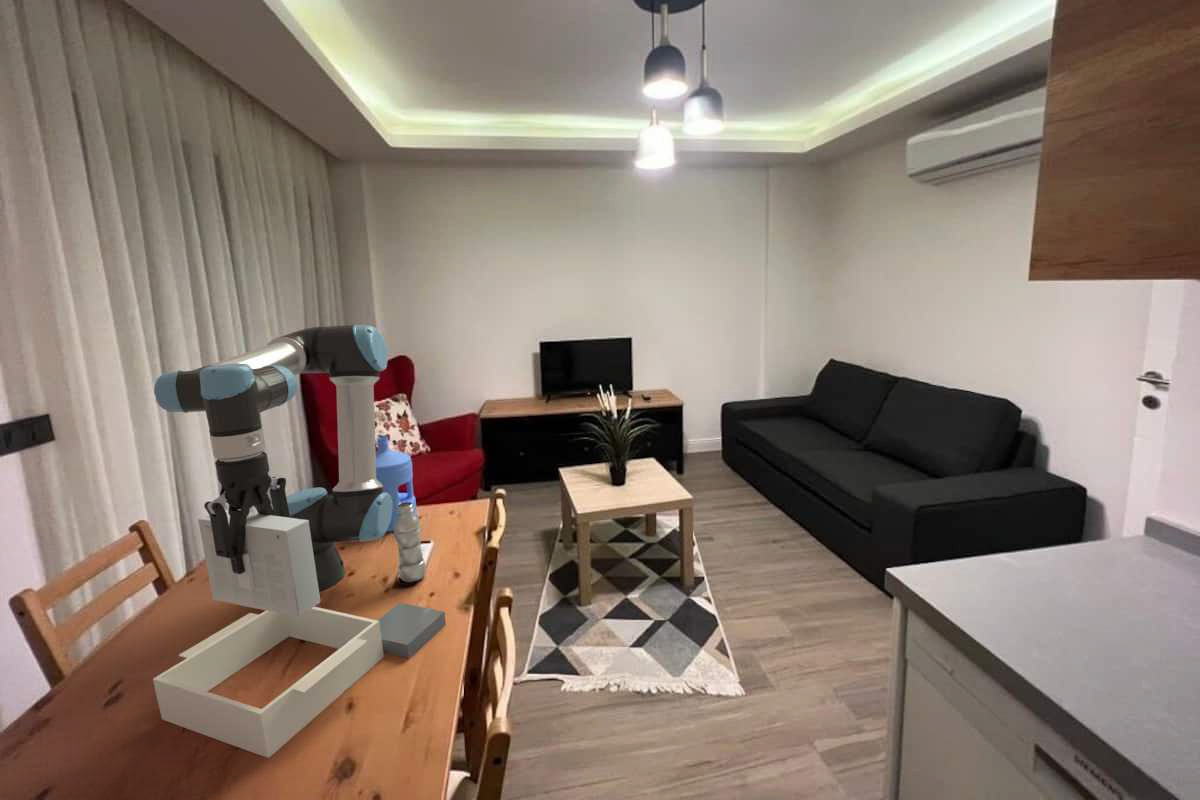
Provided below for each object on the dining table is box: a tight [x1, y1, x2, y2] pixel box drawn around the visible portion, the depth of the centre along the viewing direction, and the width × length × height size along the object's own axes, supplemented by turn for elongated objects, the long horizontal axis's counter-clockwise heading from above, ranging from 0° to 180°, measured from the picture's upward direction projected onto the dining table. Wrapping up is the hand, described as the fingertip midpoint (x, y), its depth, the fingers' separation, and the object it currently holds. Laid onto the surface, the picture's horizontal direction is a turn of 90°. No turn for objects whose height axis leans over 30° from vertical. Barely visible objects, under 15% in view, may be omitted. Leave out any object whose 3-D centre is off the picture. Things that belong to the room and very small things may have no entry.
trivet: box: [377, 602, 446, 659], centre depth 117 cm, size 12×12×3 cm
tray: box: [152, 606, 385, 759], centre depth 103 cm, size 31×26×8 cm
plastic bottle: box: [393, 502, 427, 583], centre depth 139 cm, size 6×7×20 cm
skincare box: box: [197, 509, 321, 617], centre depth 99 cm, size 21×5×16 cm, turn 71°
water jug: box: [375, 435, 419, 533], centre depth 173 cm, size 16×16×28 cm
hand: (263, 578), depth 99 cm, fingers closed on skincare box, 5 cm apart
